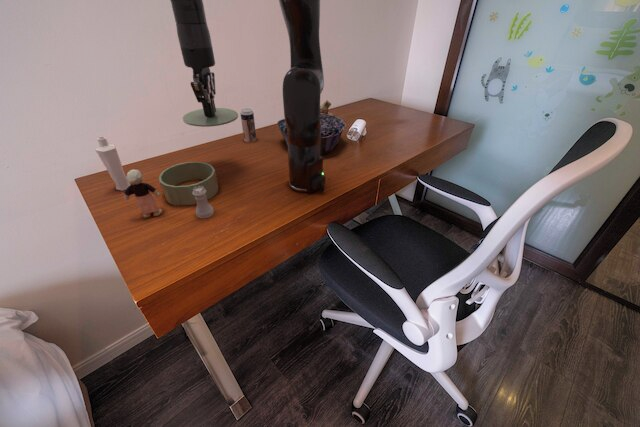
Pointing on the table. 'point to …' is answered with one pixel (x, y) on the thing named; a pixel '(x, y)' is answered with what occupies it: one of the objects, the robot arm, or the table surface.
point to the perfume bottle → (112, 163)
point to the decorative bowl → (322, 131)
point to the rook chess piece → (202, 203)
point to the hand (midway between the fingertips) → (210, 114)
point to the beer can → (248, 125)
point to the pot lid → (217, 119)
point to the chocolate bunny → (325, 107)
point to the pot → (186, 173)
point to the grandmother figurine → (142, 194)
